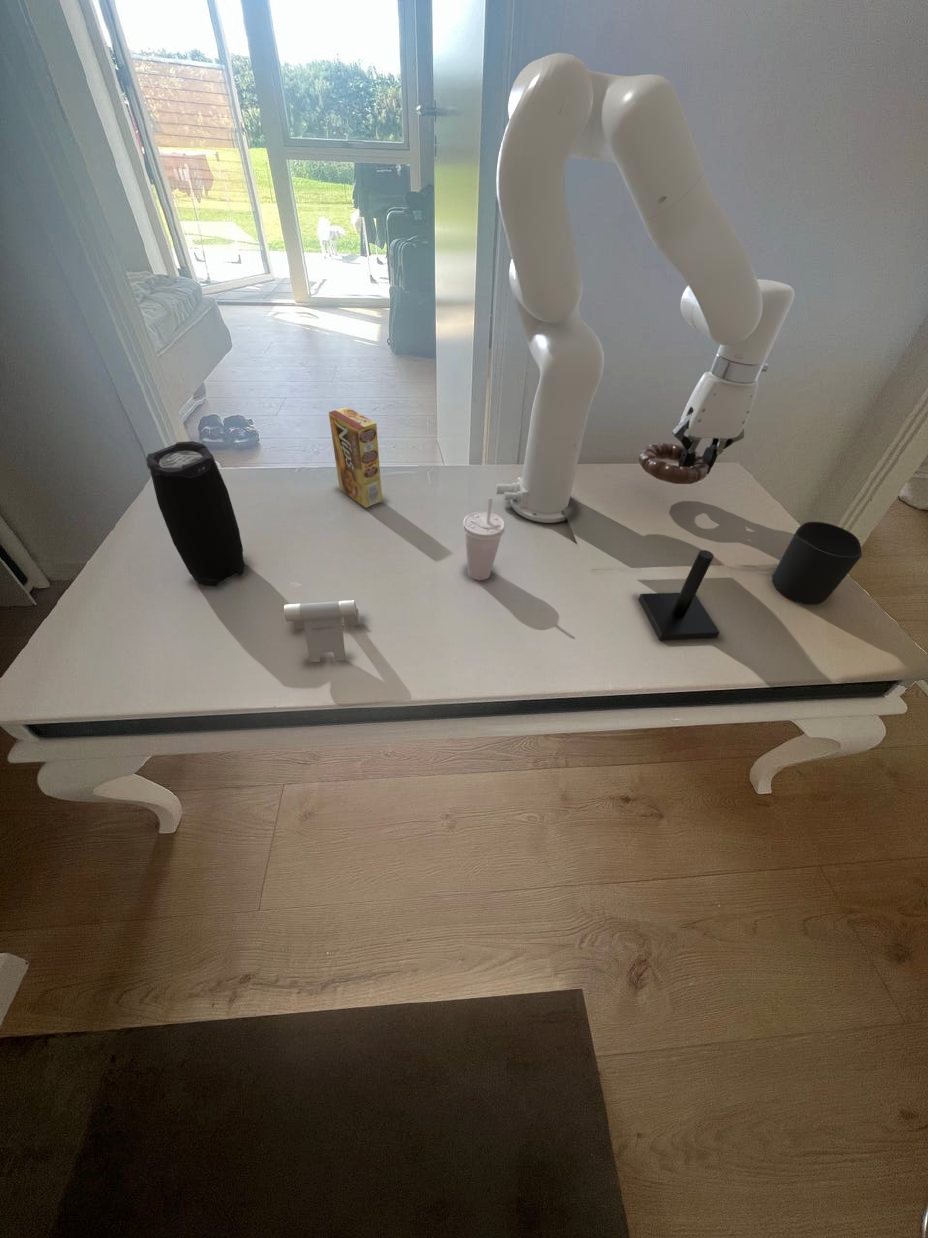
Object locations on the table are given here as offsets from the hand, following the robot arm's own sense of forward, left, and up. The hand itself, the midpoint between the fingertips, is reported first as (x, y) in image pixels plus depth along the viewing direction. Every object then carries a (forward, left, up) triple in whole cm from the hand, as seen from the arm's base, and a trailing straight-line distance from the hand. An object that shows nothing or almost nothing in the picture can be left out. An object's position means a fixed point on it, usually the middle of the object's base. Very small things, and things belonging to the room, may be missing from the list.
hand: (693, 469), depth 99 cm
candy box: (-63, +4, -8) cm, 64 cm away
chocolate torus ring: (-5, 0, +1) cm, 5 cm away
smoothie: (-43, -20, -8) cm, 48 cm away
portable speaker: (-84, -18, -8) cm, 86 cm away
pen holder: (+10, -26, -8) cm, 29 cm away
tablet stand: (-66, -34, -8) cm, 75 cm away
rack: (-14, -32, -8) cm, 36 cm away
